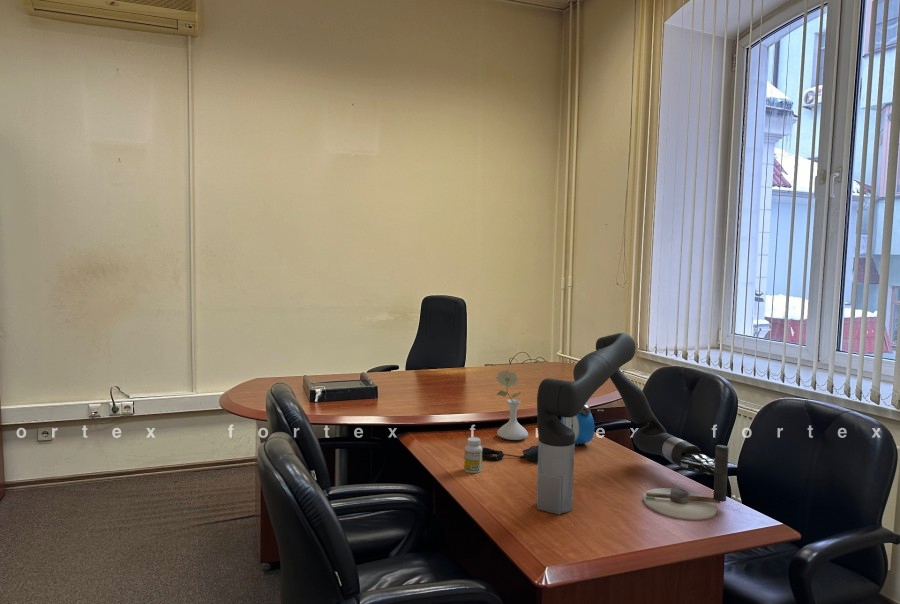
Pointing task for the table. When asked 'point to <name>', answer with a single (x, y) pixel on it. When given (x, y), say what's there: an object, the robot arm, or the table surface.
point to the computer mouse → (529, 454)
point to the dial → (719, 482)
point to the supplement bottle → (473, 456)
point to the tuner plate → (680, 506)
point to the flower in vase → (512, 427)
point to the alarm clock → (581, 425)
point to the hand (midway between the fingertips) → (722, 474)
